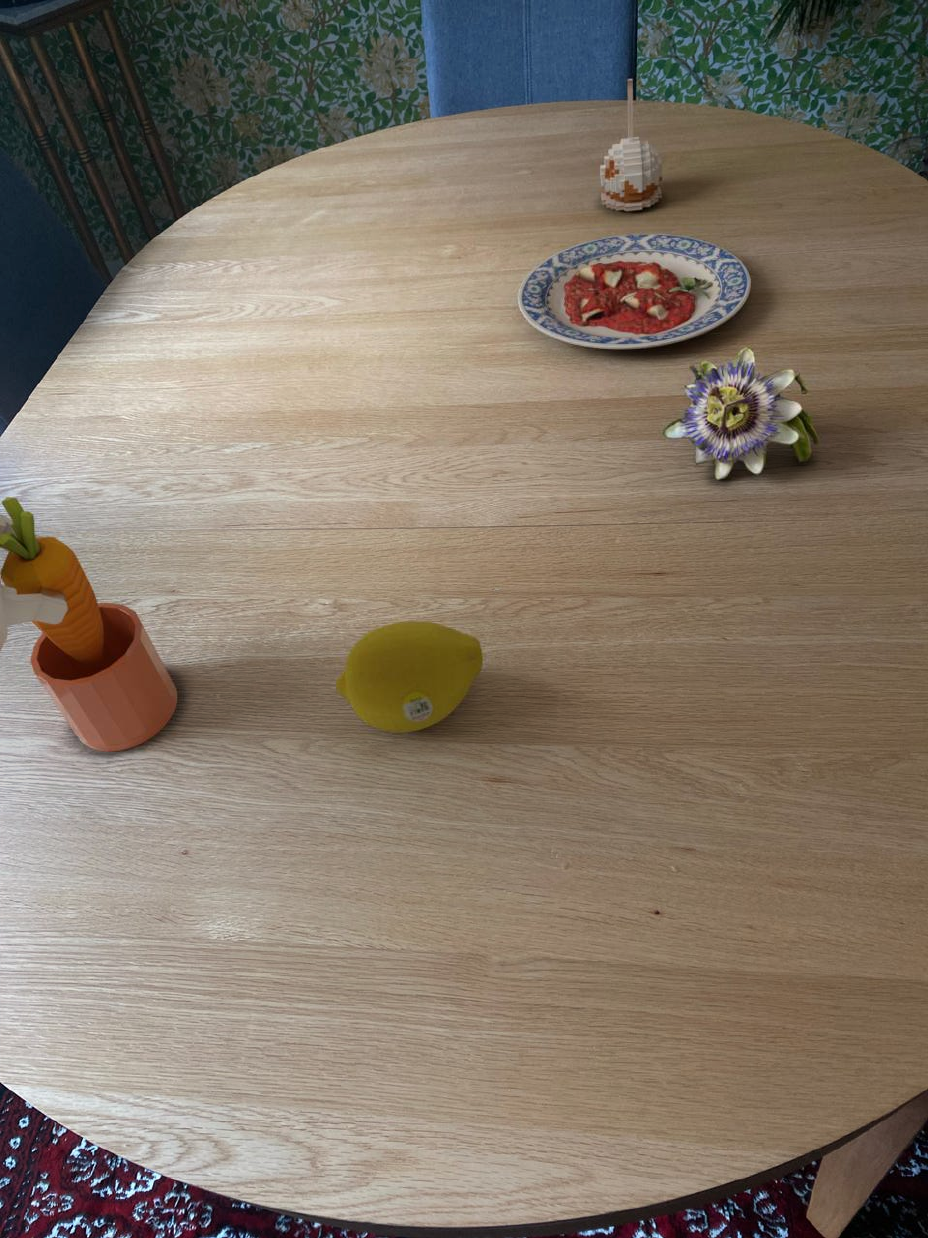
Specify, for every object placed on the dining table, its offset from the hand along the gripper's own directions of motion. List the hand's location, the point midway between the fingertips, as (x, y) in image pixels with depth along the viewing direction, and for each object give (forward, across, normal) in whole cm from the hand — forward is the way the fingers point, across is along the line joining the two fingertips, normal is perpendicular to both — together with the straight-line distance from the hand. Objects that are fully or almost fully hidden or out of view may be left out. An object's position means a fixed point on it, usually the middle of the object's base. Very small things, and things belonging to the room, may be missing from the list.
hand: (57, 581), depth 68 cm
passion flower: (+51, +2, -31) cm, 60 cm away
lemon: (+24, -12, -4) cm, 27 cm away
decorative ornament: (+65, +54, -45) cm, 96 cm away
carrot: (+6, 0, +6) cm, 9 cm away
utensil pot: (+10, 0, +10) cm, 14 cm away
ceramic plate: (+55, +31, -35) cm, 73 cm away
